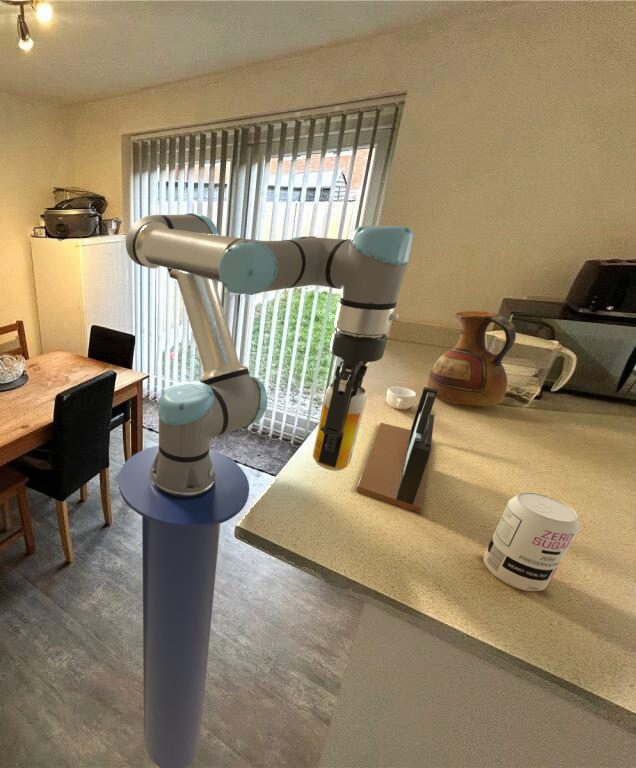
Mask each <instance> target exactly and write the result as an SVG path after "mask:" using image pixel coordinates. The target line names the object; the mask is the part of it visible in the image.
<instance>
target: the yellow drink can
mask: <svg viewBox="0 0 636 768" xmlns="http://www.w3.org/2000/svg"><path fill="white" fill-rule="evenodd" d="M333 386H334V382H331V383H330V384H329V386H328V388H327V389H326V390H325V394H324V399H323V403H322V408H321V413H320V417H319V423H318V428H317V432H316V437H315V440H314V445H313V446H314V447H313V452H312V459H314V461H315V463H316V464H317V465H318V466H319V467H321V468H323V469H325V470H329V471H335V472H338V471H342V470H345V469H346V468H348V467H349V466H350V464H351V461H352V457H353V452H354V449H355V445H356V441H357V437H358V434H359V429H360V425H361V421H362V419H363V414H364V410H365V406H366V402H367V394H366V389H365V388H364V387H362V386H361V387H360V388H358V392H357V395H355V396H353V397H352V399H351V402H350V406H349V410H348V414H347V418H346V422H345V425H344V429H343V433H344V435H343V439H342V443H341V447H340V451H339V455H338V459H337V464H336V467H332V466H329V465H326V464H322V463H319V462H318V461H319V457H320V452H321V448H322V443H323V439H324V434H325V433H323V431H321V430H320V429H321V427H325V423H326V418H327V414H328V410H329V405H330V401H331V397H332V392H333ZM353 390H354V389H353ZM353 390H352V391H353Z"/></svg>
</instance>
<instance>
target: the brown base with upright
mask: <svg viewBox="0 0 636 768" xmlns="http://www.w3.org/2000/svg"><path fill="white" fill-rule="evenodd" d="M437 390H438V389H433V388H428V386H423V388H422V392H421V395H420V399H419V402H418V405H417V409H416V412H415V415H414V418H413V421H412V425H411V427H410V428H404V427H400V426H397V425H393V424H388V423H383V422H380V423H379V425H378V428H377V431H376V434H375V437H374V439H373V442H372V444H371V448H370V450H369V453H368V456H367V459H366V461H365V465H364V467H363V470H362V472H361V476H360V478H359V481H358V483H357V487H356V489H355V490H356V493H359V494H362V495H364V496H368V497H370V498H374V499H376V500H380V501H383V502H385V503H388V504H391V505H394V506H397V507H400V508H403V509H406V510H409V511H412V512H414V513H417V514H420V513H421V510H422V505H423V496H424V489H425V481H426V471H427V464H428V461H429V458H430V456H431V452H432V441H433V432H434V425H435V424H434V423H435V414H431V413H432V410H433V406H434V403H435V401H436V398H437V397H436V395H437ZM428 392H430V393H435V394H434V399H433V402H432V406H431V409H430V412H429V415H428V418H427V421H426V424H425V427H424V430H423V434H422V435H421V442H420V444H418V443H413V446H412V449H411V452H410V456H409V459H408V462H407V465H406V468H405V463H406V458H407V452H408V448H409V445H410V442H411V438H412V435H413V432H414V429H415V426H416V422H417V419H418V416H419V413H420V412H422V409H423V406H424V403H425V399H426V396H427V393H428ZM404 468H405V471H404ZM403 472H404V475H403ZM402 477H403V478H402Z"/></svg>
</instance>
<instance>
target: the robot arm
mask: <svg viewBox="0 0 636 768" xmlns="http://www.w3.org/2000/svg"><path fill="white" fill-rule="evenodd" d="M353 231H354V232H353V234H352V237H351V238H346V239H344V238H329V237H318V236H317V237H316V236H314V235H313V236H312V235H309V236H295V237H291V238H290V239H282V240H258V239H250V238H243V237H234V236H227V235H219V232H218V230H217V227H216V224H215V223H214V222H213V221H212V219H211V218H209V217H208V216H206V215H204V214H196V213H184V214H151V215H146V216H143V217H140V218H139V219H137V220H136V221H135V222H134V223H133V224H132V225H131V226H130V227H129V229H128V231H127V233H126V237H125V249H126V252H127V254H128V256H129V258H130V260H131V261H133V262H134V263H135V264H137V265H138V266H141V267H146V268H148V269H159V268H161V267H163V268H166V269H167V273H168V275H169V277H170V278H171V279H173V280H174V281H176V282H177V285H178V288H179V291H180V295H181V299H182V302H183V305H184V309H185V312H186V316H187V318H188V323H189V327H190V329H191V332H192V336H193V340H194V343H195V347H196V349H197V354H198V357H199V360H200V363H201V367H202V371H203V374H202V376H201V378H200V379H199V381H193V380H192V381H190V382H188V381H181V382H177V383H174V384H171V385H170V386H168V387H167V388H166V389H164V390H163V392H162V393H161V395H160V398H159V406H158V410H157V414H158V446H159V450H158V453H157V455H156V458H155V460H154V463H153V465H152V468H151V481H152V484H153V485H154V487H155V488H156V489H157V490H158V491H160V492H161V493H163V494H165V495H167V496H170V497H173V498H178V499H193V498H198V497H201V496H204V495H206V494H207V493H209V492H210V491H211V490H212V489H213V487H214V484H215V471H214V466H213V464H212V461H211V458H210V454H209V449H210V446H211V445H210V443H211V439H212V438H215V437H218V436H221V435H224V434H228V433H230V432H233V431H236V430H240V429H244V428H248V427H250V426H251V425H253V424H255V423H258V422H259V421H260V420H262V418H263V417H264V415H265V414H266V413H265V412H266V411H267V409H268V392H267V389H266V387H265V385H264V384H263V382H262V381H260V379H259V378H258V377H256V376H254V375H250V371H249V368H248V366H246V365H244V364H242V363H241V362H240V361H239V358H238V357H239V356H238V353H237V351H236V348H235V345H234V340H233V338H232V334H231V331H230V327H229V324H228V321H227V317H226V314H225V311H224V308H223V304H222V301H221V298H220V297H221V296H220V294H219V291H218V287H217V283H216V282H218V283H221V284H222V286H224V287H225V288H226V290H227V291H228V292H229V293H231V294H234V295H256V294H260V293H265V292H266V293H267V292H273V291H279V290H286V289H287V290H288V289H295V288H301V287H308V286H316V287H317V286H318V287H325V288H332V289H336V290H340V291H341V292H340V298H339V301H338V307H337V310H336V315H335V319H334V328H335V330H334V331H333V332H332V336H331V342H330V346H329V352H330V353H331V354H332V355H333V356H335V357H336V358H340V359H341V360H342V361H340V362H339V365H337V366H336V369H335V372H334V375H335V378H334V379H333V383H334V386H333V392H332V397H331V401H330V405H329V410H328V414H327V418H326V423H325V427H321V429H320V430H321V431H323V433H325V434H324V439H323V443H322V448H321V452H320V457H319V461H318V462H319V463H322V464H326V465H329V466H332V467H336V464H337V459H338V455H339V451H340V447H341V443H342V439H343V435H344V433H343V429H344V425H345V422H346V418H347V414H348V410H349V406H350V402H351V399H352V397H353V396H355V395H357V392H358V388H360V387H362V384H363V381H364V377H365V376H366V374H367V370H368V366H367V365H366V364H367V363H374V362H377V361H380V360H382V358H383V356H384V353H385V349H386V346H387V343H388V337H387V335H386V334H388V333H389V332H390V329H391V326H392V321H397V320H398V319H399V315H398V313H394V312H395V310H396V306H397V302H398V297H399V294H400V291H401V288H402V284H403V280H404V277H405V273H406V270H407V266H408V265H409V263H410V255H411V249H412V245H413V239H414V231H413V230H412V229H411V228H410V227H408V226H403V225H363V226H362V225H361V226H358V227H356V229H355V230H353ZM353 389H354V390H353ZM352 390H353V391H352Z"/></svg>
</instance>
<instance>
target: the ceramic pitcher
mask: <svg viewBox="0 0 636 768" xmlns="http://www.w3.org/2000/svg"><path fill="white" fill-rule="evenodd" d="M453 315H454V317H455V318H456V319H457V321H459V323H460V333H459V334H460V335H459V338H458V341H457V343H456V345H454V347H452V348H451V349H449V350H447V351H445V352H444V353H443V354H441V356H439V358H438V359H437V360H436V362H435V363H434V364H433V366H432V368H431V369H430V373H429V375H428V377H427V387H428V388H433V389H438V390H437V395H436V398H437V399H439V400H441V401H442V400H443V401H446V402H450V403H452V404H458V405H459V404H460V405H465V406H484V407H487V406H494V405H498V404H500V403H501V402H502V401H503V400H504V398H505V396H506V394H507V388H508V377H507V373H506V371H505V368H504V365H503V363H502V361H503V359H504V357H505V356H506V355H507V353H508V352H509V351H510V350H511V348H512V347H513V345H514V344H515V341H516V333H517V332H516V328H515V325H514V323H513V322H511V321H510V320H509V319H508V318H507V317H505V316H502V315H500V314H499V313H497V312H493V311H491V312H489V311H478V310H476V311H473V310H472V311H468V310H467V311H458V312H454V313H453ZM491 323H492V324H493V323H494V324H495V325H497V326H499V327H500V328H501V329H502V330H503V331H504V332H503V333H504V334H505V343H504V346H503V347H502V349H501V350H500V352H498V353H496V354H494V353H493V352H491V351H490V350H489V349H487V347H486V343H485V341H486V340H485V337H486V331H487V328H488V327H489V325H490V324H491Z"/></svg>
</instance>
